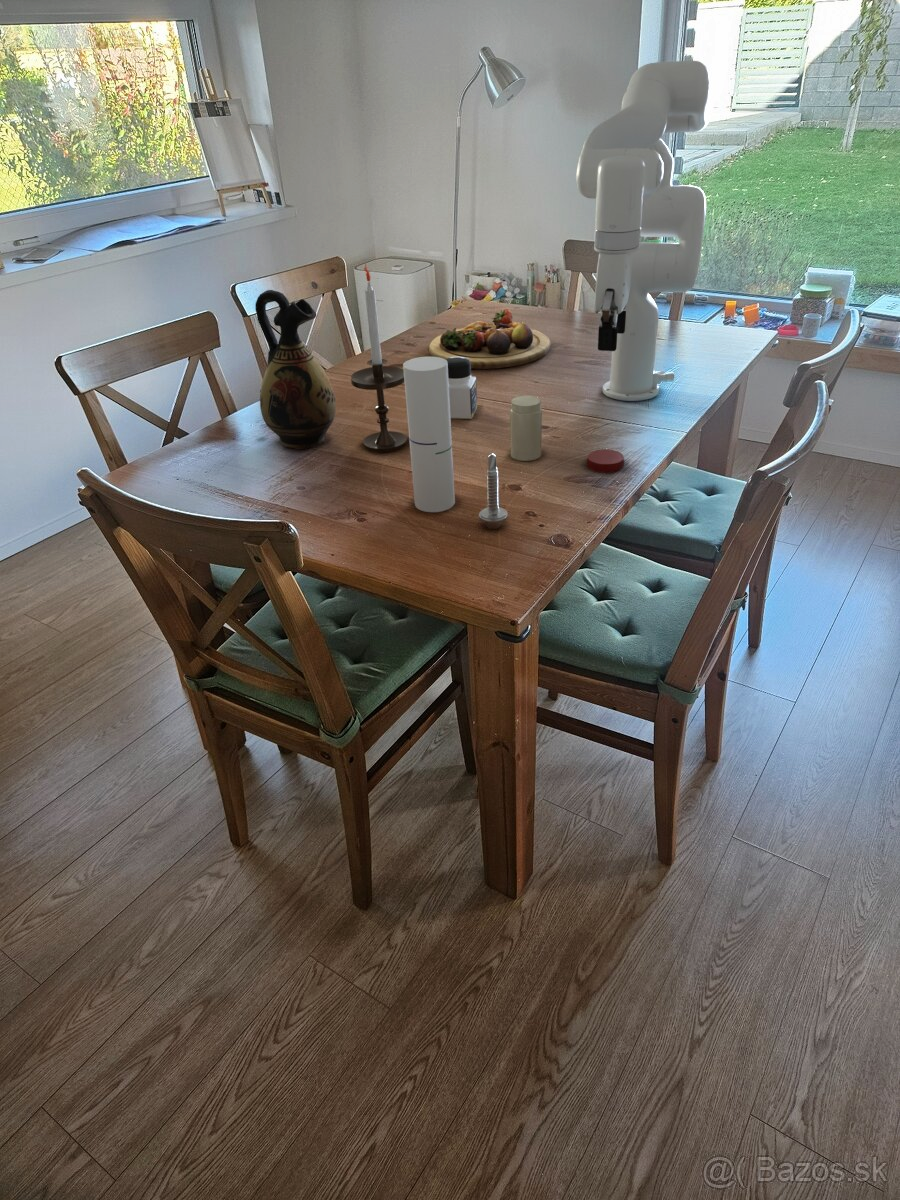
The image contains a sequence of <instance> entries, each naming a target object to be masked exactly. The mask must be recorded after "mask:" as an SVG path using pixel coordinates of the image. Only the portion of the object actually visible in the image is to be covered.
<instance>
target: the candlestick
mask: <svg viewBox="0 0 900 1200" xmlns="http://www.w3.org/2000/svg"><path fill="white" fill-rule="evenodd" d="M363 269H364V272H365V276H366V278H365V279H366V281H367V282H366V283H367V286H366V289H364V297H365V306H366V307H365V308H366V317H367V327H368V332H369V333H368V334H369V346H370V353H371V359H370V360H368V361H367V362H366V364H367V365H369V366H371V367H366V368H365V367H364V368H362V369H359V370H357V371H355V372H353V373H352V374H351V375H350V382H351V385H352V387H354V388H356V389H359V390H365V391H376V398H377V405H376V406H375V407H374V411H375V413H376V414H377V415H378V418H377V419H376V422H377V424H379V426H380V427H379V428H380V431H377V432H374V433H370V434H368V435H367V436H365V437H364V438H363V440H362V445H363V448H364V450H366V451H368V452H370V453H376V454H386V453H387V454H388V453H394V452H397V451H400V450H402V449H404V448H405V447H406V446H407V445H408V437H407V435H406V434H404V433H402V432H399V431H392V430H388V425H387V424H388V423H389V422H390V419H389V418H388V417H387V414H388V413H389V406H388V405H386V404H385V394H384V393H385V392H384V390H388V389H393V388H395V387H398V386H401V385H402V384H405V382H404V370H403V368H401V367H397V366H392V365H391V366H389V365H385V364H387V363H388V360H387V359H384V358H383V357H382V350H381V348H382V347H381V339H380V330H379V319H378V308H377V299H376V290H375V288H373V287H372V286H373V285H372V284H371V273H370V271H369V269H368V267H367V263H365V264H364V268H363Z"/></svg>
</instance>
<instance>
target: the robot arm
mask: <svg viewBox="0 0 900 1200" xmlns="http://www.w3.org/2000/svg"><path fill="white" fill-rule="evenodd" d="M711 77H712V76H711V74H710V71H709V69H708V68H707V66H706V65H705V64H704V63H703V62H701V61H699V60H681V61H680V60H679V61H677V60H676V61H675V60H674V61H656V62H649V63H646V64H643V65H641V66H640V67H639V68H637V69H636V70H635V71H634V73H633V74H632V75H631V77H630V80H629V82H628V85H627V88H626V91H625V92H624V94H623V97H622V100H621V108H620V110H619V111H617V112H615V113H614V114H612V115H610V116H608V118H606V119H605V120H603V121H602V122H600V123H599V124H597V125H596V126H594V127H593V129H592V130H591V131H590V132H589V133H588V134H587V137H586V139H585V140H584V143H583V146H582V149H581V151H580V155H579V158H578V162H577V167H576V174H575V179H576V186H577V190H578V191H579V192H578V193H579V194H580V195H582V196H583V197H584V198H586V199H593V200H594V199H595V200H596V201H595V222H594V246H593V250H594V251H595V252H597V253H598V260H597V266H596V275H595V289H594V290H595V291H594V301H593V312H594V313H595V314H598V313H600V318H599V323H598V324H599V326H598V332H597V333H598V334H597V350H598V351H600V352H611V359H610V377H609V380H608V381H607V382H605V383H604V384H603V385H602V394H604V395H605V396H606V397H608V398H610V399H613V400H617V401H624V402H638V401H639V402H640V401H645V400H649V399H653V398H655V397H657V396H658V395H659V393H660V386H659V385H660V384H661V383H668V382H673V381H674V380H675V373H674V372H665V371H664V370H658V371H656V370H655V366H656V365H655V363H656V353H657V341H658V332H659V331H658V330H659V322H660V321H659V319H660V313H659V308H658V306H657V304H656V302H655V300H654V299H653V297H652V296H651V294H650V293H671V294H672V293H676V294H677V293H678V294H680V293H681V294H682V293H687V292H690V291H691V290H692V289H694V287H695V285H696V283H697V280H698V277H699V271H700V263H701V254H702V246H703V240H704V232H705V225H706V224H705V223H706V213H707V199H706V195H705V193H704V191H703V190H702V189H701V188H700V187H699V186H696V185H695V186H694V185H673V183H672V182H673V173H674V167H675V161H674V157H673V155H672V153H671V151H670V149H669V147H668V145H666V143H665V142H664V140H663V139H662V137H663V136H664V134H669V133H670V134H671V133H672V134H674V133H675V134H677V133H697V132H700V131H702V130H704V129H705V128H706V127H707V126H708V124H709V122H710V120H711V117H712V114H713V107H714V91H713V84H712V78H711ZM641 237H645V238H646V237H647V238H676V239H677V240H679V242H660V241H659V242H657V241H656V242H655V241H654V242H652V241H651V242H650V241H648V242H647V241H641Z"/></svg>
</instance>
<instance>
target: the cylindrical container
mask: <svg viewBox="0 0 900 1200" xmlns="http://www.w3.org/2000/svg"><path fill="white" fill-rule="evenodd" d="M402 369H403V370H404V392H405V394H404V395H405V403H406V405H405V406H406V417H407V427H408V440H409V453H410V460H411V461H410V462H411V463H410V465H411V475H412V476H411V477H412V487H413V488H412V489H413V496H414V497H413V498H414V499H413V500H414V506H415V508H416V509H418V510H419V511H422V512H426V513H440V512H444V511H447V510H450V509H451V508H453V507H454V505H455V504H456V497H455V496H456V495H455V477H454V461H453V460H454V459H453V441H452V422H451V421H452V419H451V418H450V401H449V382H448V364H447V360H445V359H443V358H439V357H433V356H420V357H414V358H411V359H408V360H406V361H404V362H403V364H402Z"/></svg>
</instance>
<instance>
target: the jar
mask: <svg viewBox="0 0 900 1200" xmlns="http://www.w3.org/2000/svg"><path fill="white" fill-rule="evenodd" d="M510 404H511V406H510V409H509V419H510V420H509V422H510V423H509V425H510V426H509V427H510V435H509V437H510V439H509V440H510V457H511V458H512V459H513V460H516V461H519V462H531V461H535V460H537V459H539V458H541V457H542V443H543V442H542V441H543V440H542V439H543V437H542V435H543V433H542V432H543V431H542V429H543V407H542V406H541V405H542V400H541V398H539V397H538V396H534V395H519V396H516V397H514V398H512V399H511V401H510Z"/></svg>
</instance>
